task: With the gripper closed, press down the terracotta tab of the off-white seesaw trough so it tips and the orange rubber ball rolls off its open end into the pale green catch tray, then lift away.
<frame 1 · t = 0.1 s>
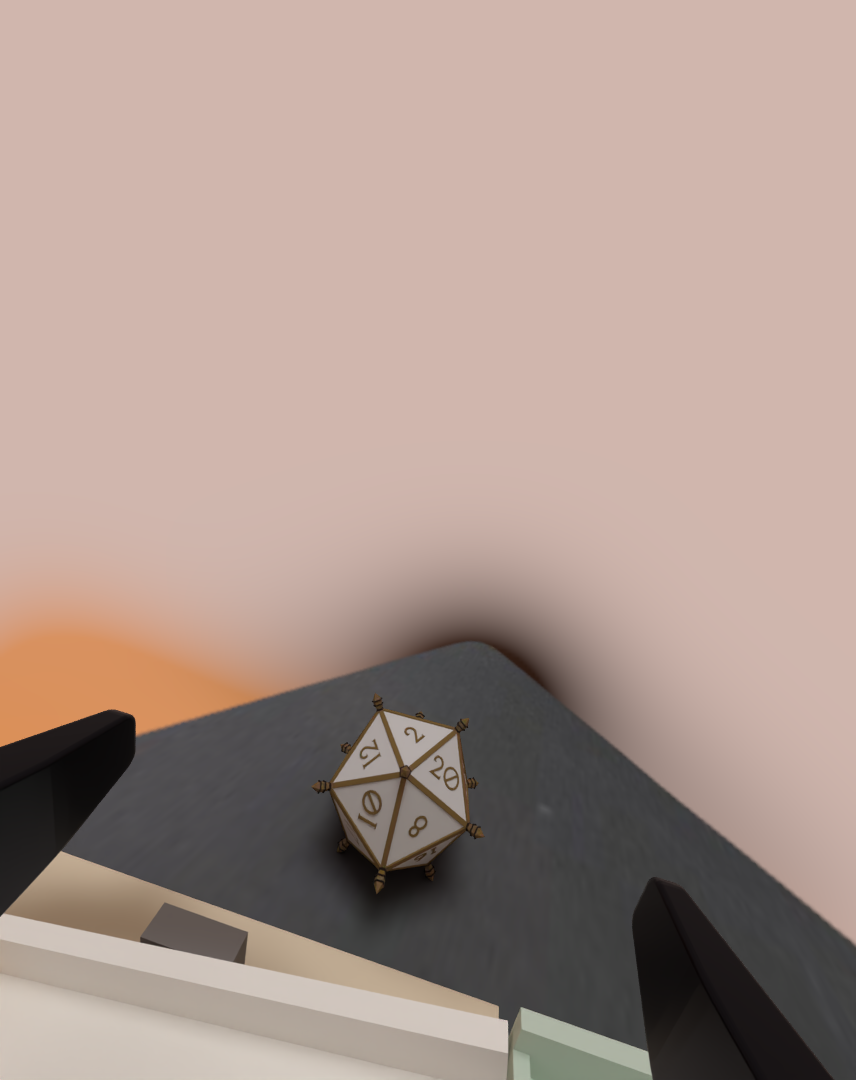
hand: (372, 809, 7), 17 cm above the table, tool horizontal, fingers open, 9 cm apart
game die: (390, 842, 24), on the table
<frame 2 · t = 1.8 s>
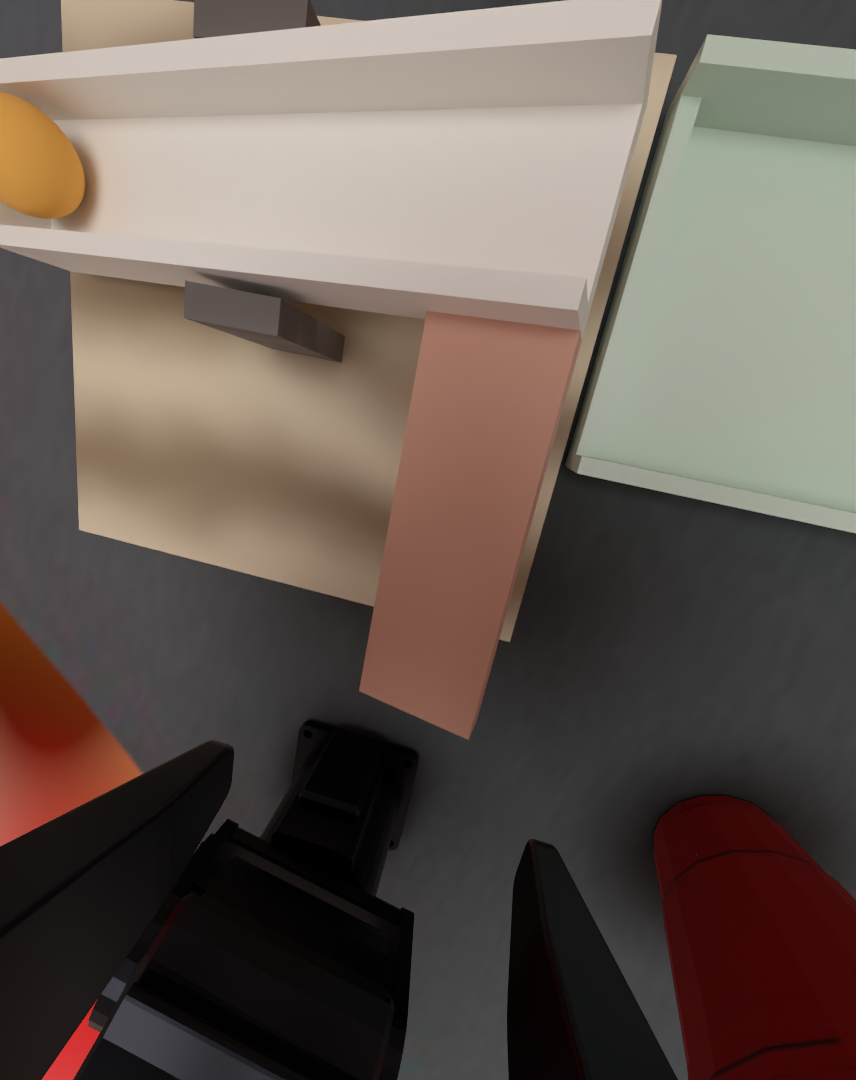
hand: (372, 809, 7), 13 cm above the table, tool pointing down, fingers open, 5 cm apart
lever stand: (326, 259, 17), on the table
catch tray: (807, 342, 15), on the table
lever: (234, 404, 14), point 5 cm above the table, hinge at -12.0°, touching ball
ball: (24, 159, 13), point 5 cm above the table, tilted 13°, touching lever
plastic cup: (708, 835, 21), on the table
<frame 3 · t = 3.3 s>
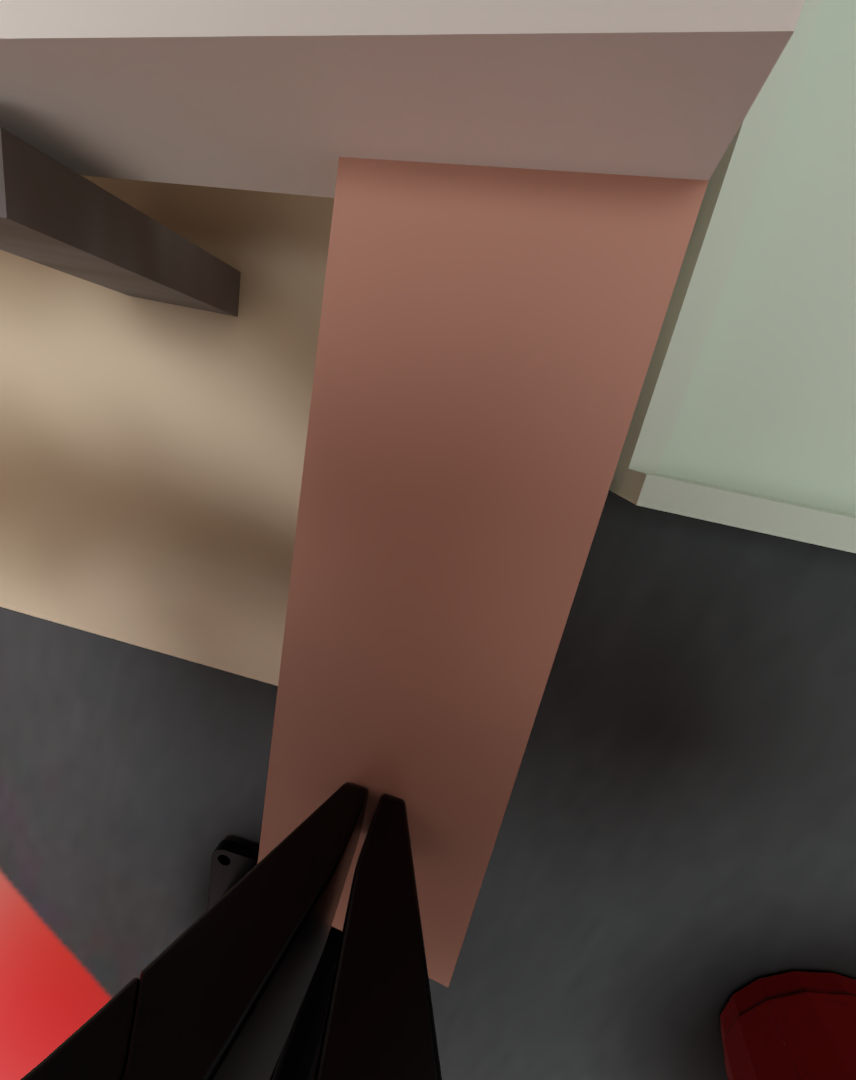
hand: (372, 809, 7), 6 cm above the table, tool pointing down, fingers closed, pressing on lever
lever stand: (211, 146, 10), on the table
plastic cup: (801, 1020, 14), on the table
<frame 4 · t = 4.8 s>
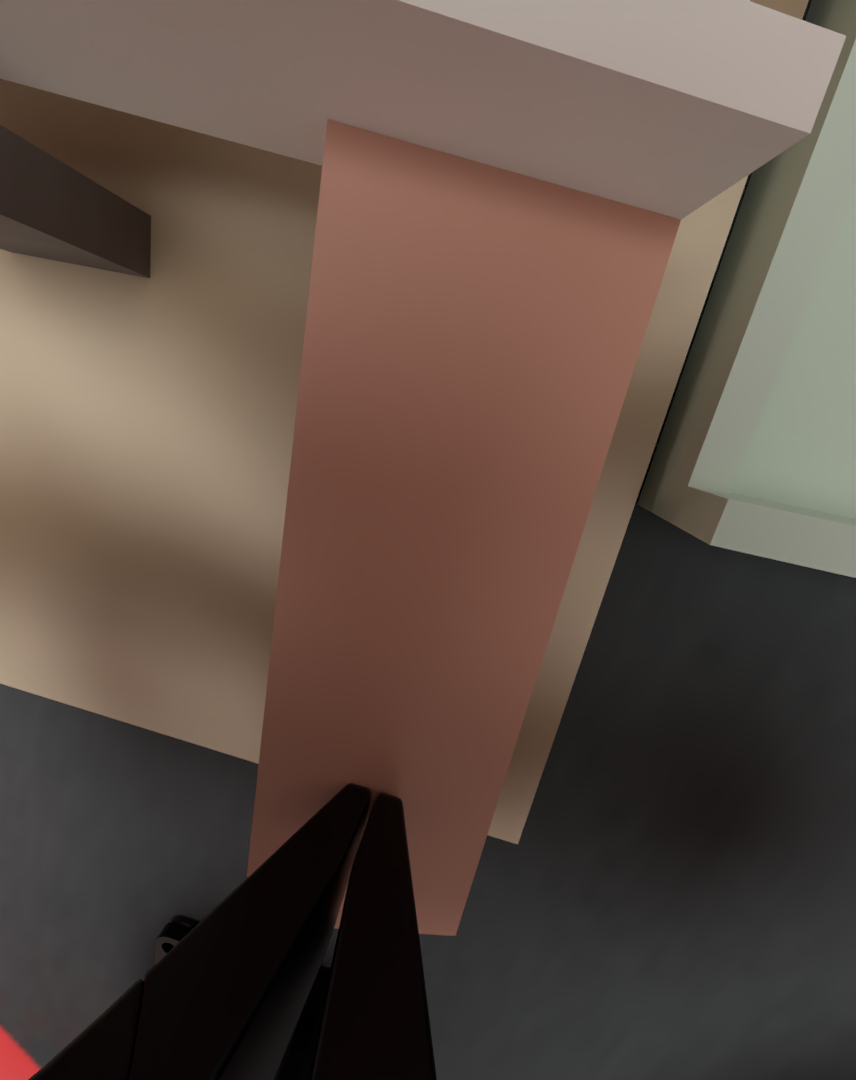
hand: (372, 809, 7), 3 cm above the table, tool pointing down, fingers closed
lever stand: (113, 46, 8), on the table
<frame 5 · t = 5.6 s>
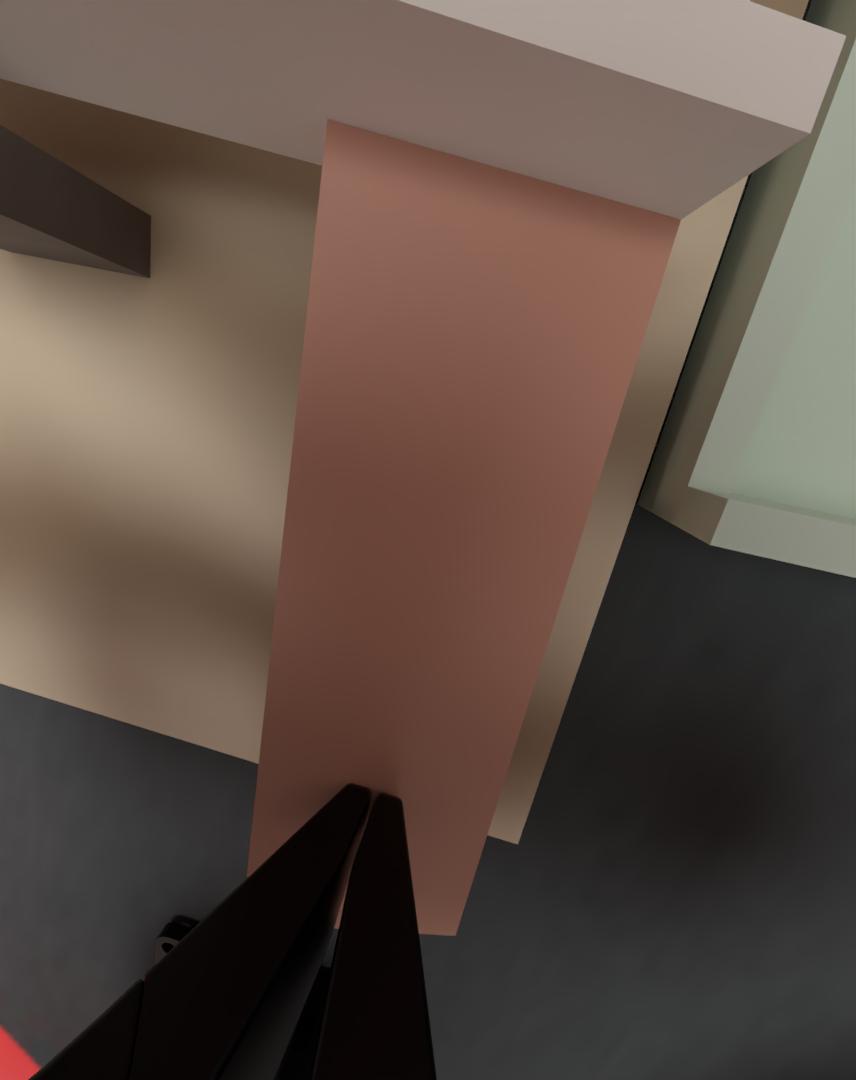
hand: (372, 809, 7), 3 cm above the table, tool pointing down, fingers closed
lever stand: (113, 46, 8), on the table
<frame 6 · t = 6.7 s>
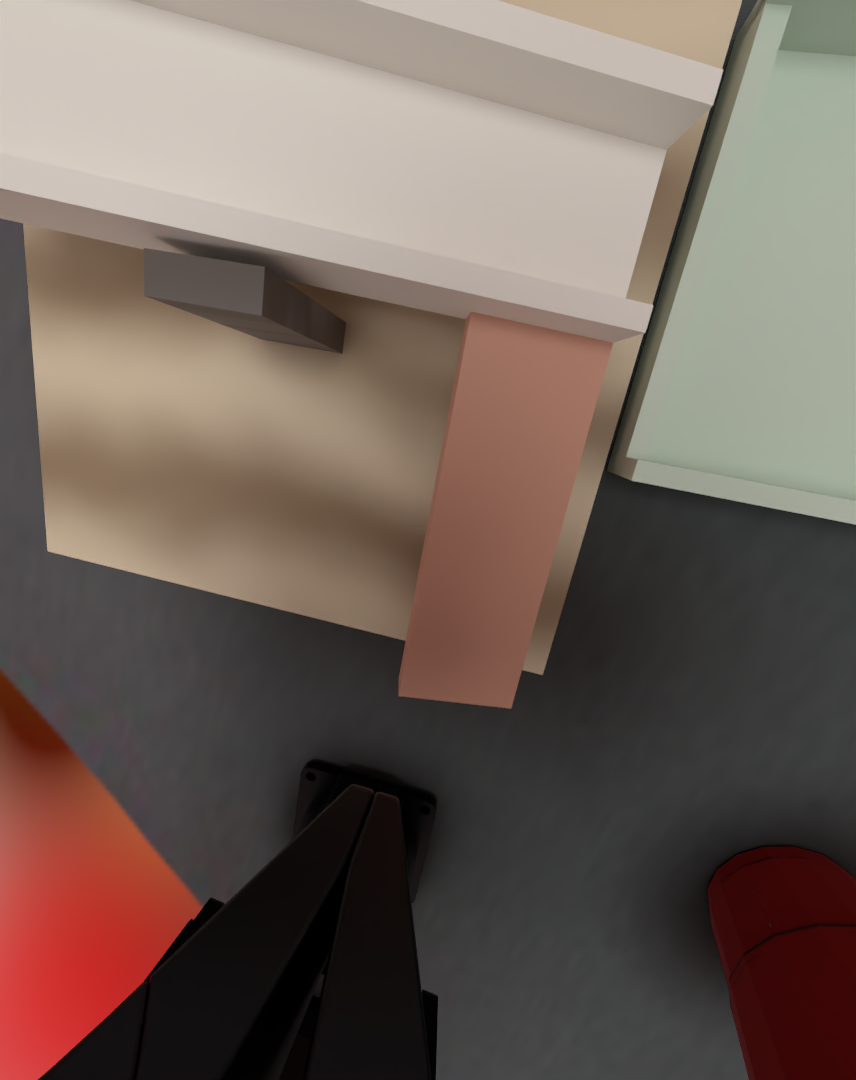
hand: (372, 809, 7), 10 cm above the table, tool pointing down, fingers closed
lever stand: (322, 232, 15), on the table
lever: (224, 406, 11), point 5 cm above the table, hinge at 13.4°
plastic cup: (771, 890, 18), on the table
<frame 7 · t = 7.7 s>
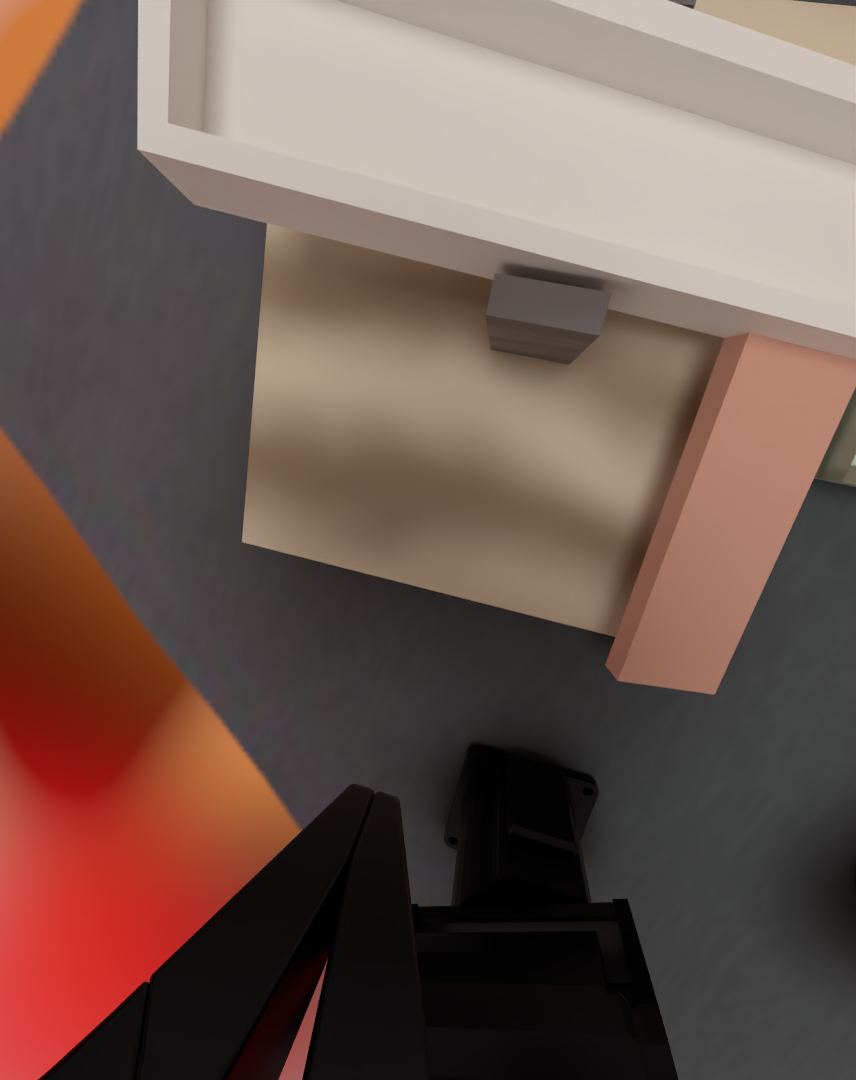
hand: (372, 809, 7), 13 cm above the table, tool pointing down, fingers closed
lever stand: (555, 251, 16), on the table
lever: (525, 413, 12), point 5 cm above the table, hinge at 13.4°
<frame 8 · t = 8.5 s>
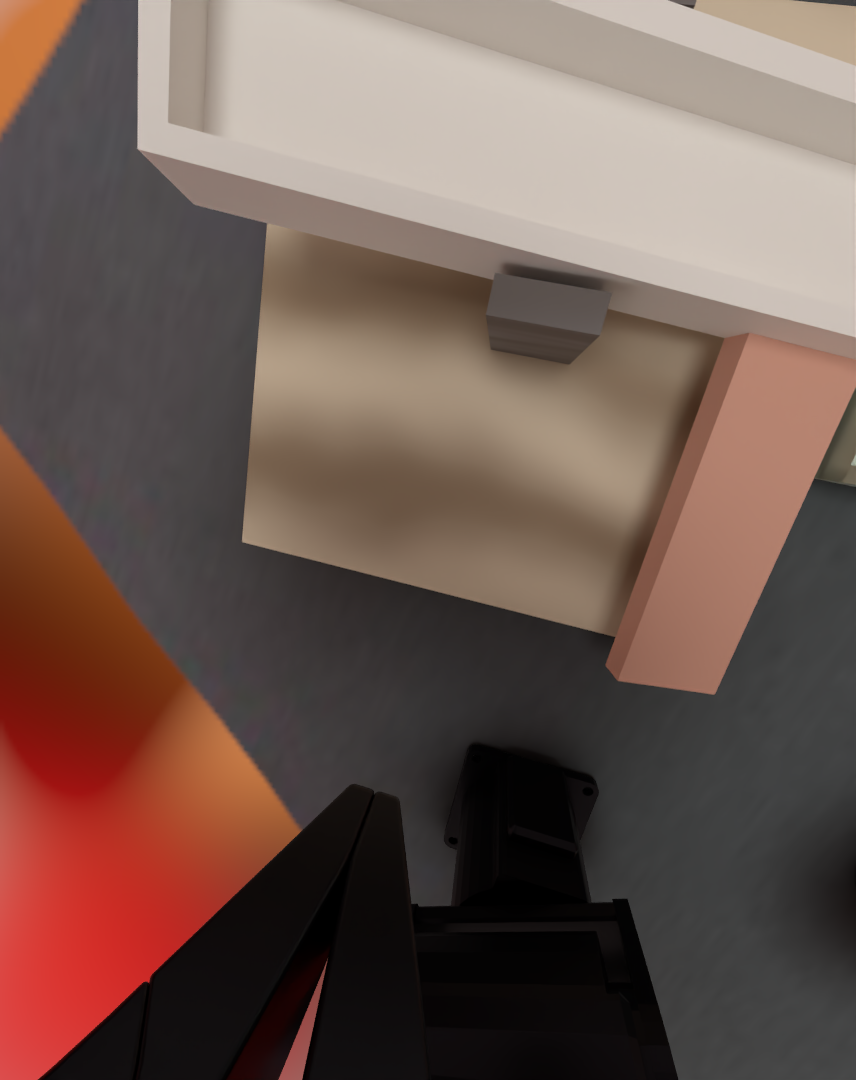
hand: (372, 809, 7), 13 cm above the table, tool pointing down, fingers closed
lever stand: (555, 251, 16), on the table
lever: (525, 413, 12), point 5 cm above the table, hinge at 13.4°
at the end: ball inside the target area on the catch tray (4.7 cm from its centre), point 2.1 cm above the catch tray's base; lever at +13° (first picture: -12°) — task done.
